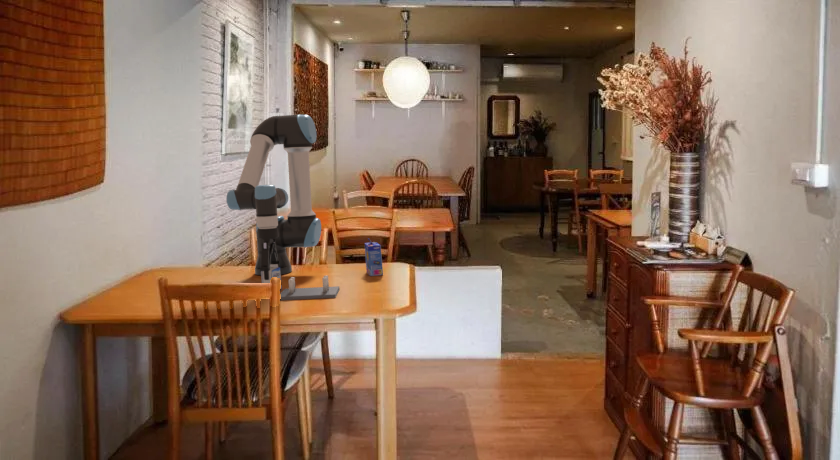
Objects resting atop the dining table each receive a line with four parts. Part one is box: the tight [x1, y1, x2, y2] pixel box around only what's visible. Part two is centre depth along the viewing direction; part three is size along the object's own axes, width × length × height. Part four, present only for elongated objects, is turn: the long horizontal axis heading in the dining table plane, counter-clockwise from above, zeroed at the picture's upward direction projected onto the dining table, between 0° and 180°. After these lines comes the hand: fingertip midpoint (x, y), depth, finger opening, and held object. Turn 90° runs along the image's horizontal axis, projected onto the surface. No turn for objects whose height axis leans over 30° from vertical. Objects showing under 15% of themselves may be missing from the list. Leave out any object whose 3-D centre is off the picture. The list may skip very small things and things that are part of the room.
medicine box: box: [260, 267, 283, 290], centre depth 286 cm, size 8×4×9 cm, turn 168°
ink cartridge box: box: [364, 238, 384, 277], centre depth 312 cm, size 10×6×14 cm, turn 13°
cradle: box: [280, 275, 340, 301], centre depth 277 cm, size 14×20×6 cm
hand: (271, 285), depth 286 cm, fingers open, 13 cm apart
